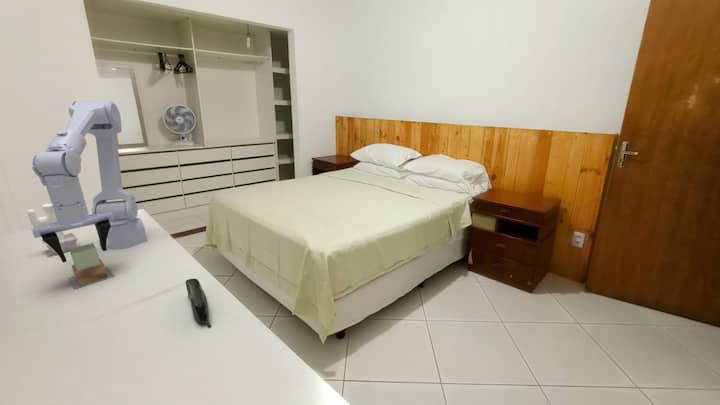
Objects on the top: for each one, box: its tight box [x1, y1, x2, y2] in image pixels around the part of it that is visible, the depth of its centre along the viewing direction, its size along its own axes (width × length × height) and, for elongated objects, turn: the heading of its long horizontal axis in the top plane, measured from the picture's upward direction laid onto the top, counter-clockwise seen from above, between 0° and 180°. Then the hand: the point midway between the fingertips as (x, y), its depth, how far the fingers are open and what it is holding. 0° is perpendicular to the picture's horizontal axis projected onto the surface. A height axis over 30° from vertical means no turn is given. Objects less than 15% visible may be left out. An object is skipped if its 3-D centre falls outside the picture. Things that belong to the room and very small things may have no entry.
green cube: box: [69, 242, 101, 271], centre depth 78 cm, size 4×4×4 cm
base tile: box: [67, 265, 115, 291], centre depth 80 cm, size 8×8×2 cm
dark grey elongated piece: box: [185, 278, 212, 328], centre depth 68 cm, size 5×3×15 cm
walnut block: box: [71, 257, 108, 286], centre depth 79 cm, size 6×6×4 cm
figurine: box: [26, 202, 79, 255], centre depth 96 cm, size 7×9×15 cm
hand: (84, 255), depth 78 cm, fingers open, 7 cm apart
